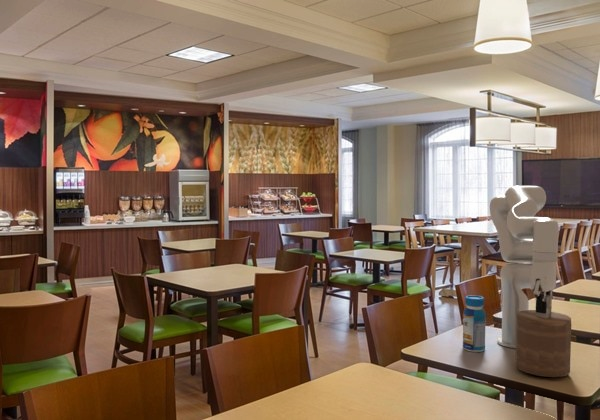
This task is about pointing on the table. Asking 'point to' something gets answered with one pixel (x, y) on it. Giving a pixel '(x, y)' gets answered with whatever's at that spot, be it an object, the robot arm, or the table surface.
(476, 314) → the beverage bottle
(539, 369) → the walnut cover
